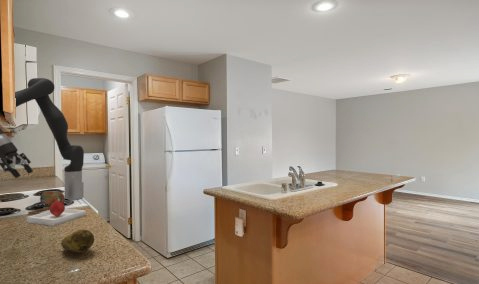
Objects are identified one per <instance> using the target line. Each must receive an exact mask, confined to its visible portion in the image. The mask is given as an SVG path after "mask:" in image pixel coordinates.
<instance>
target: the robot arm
mask: <svg viewBox="0 0 479 284" xmlns="http://www.w3.org/2000/svg"><path fill="white" fill-rule="evenodd" d="M54 91H55V84H54V83H53V81H52V80H50V79H48V78H44V77H35V78H34V77H33V78H30V79H29V80H28V82H27V87H26V88H24V89H20V90H17V91H14V92H15V98H16V107H15V108H17V107H19V106H21V105H23V104H25V103H28V102H31V101H33V100H35V102H36V104H37V105H38V107H39V109H40V111H41V113H42V116H43V118H44V119H45V121H46V124H47V126H48V129H50V131H51V133H52V135H53V138H54V140H55V142H56V144H57V147H58V150H59V152H60V155H61V157H62V158H63V159H64V160H66V161H70V163H69V164H68V165H66V166H65V167H64V170H63V172H64V174H63V175H64V200H65V199H69V200H68V201H75V200H77V201H78V200H80V199H83V198H84V193H85V192H84V182H83V167H84V162H85V161H84V159H85V158H84V157H85V156H84V155H85V154H84V149H83V147H82V146H81V145H75V144H74V145H73V144H71V143H70V140H69V139H68V130H69V124H68V121H67V119H66V117H65V115H64V113H63V112H62V111H61V110H60V109H59V108H58V106H56V105H55V103H53V101H52V100H51V98H50V96H49V95H51V94H52V93H54ZM12 141H13V140H11V139H10V138H9V136H8V135H6V133H5V132H4V131H3V129H2V128H1V127H0V167H1V168H2V170H3V171H4V172H5V173H6V172H8V173H9V172H10V173H11V175H12V176H13V177H14V179H18V178H19V177H21V173H20V172H19V171H18V169H16V165H18V166H20V167H21V166H22V167H23V169H24V170H25V172H26V173H27V174H31V173H33V172H34V170H33V169H32V167H31V166H30V164H31V163H32V161H31V160H30V159H29V158H28V157H27V155H26V154H25V153H24V152H22V153H20V154H19V153H18V151H19V149H18V148H17V147H16V145H15V143H13V142H12Z"/></svg>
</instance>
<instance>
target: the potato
mask: <svg viewBox="0 0 479 284" xmlns="http://www.w3.org/2000/svg"><path fill="white" fill-rule="evenodd" d="M94 243H95V236H94V234H93V232H92V231H90V230H88V229H78V230H74V231H73V232H72V233H71V234H70V233H69V235H67V236H65V237H63V238H62V240H61V244H60V245H61V247H62V249H64V250H66V251H69V252H72V253H77V254H78V253H83V252H86V251H88V250H89V249H90V248H91V247H92V246H93V245H94Z"/></svg>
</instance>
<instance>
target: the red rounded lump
mask: <svg viewBox="0 0 479 284" xmlns="http://www.w3.org/2000/svg"><path fill="white" fill-rule="evenodd" d="M65 209H66V206H65V204H64V203H62V202H60V201H59V200H56V201H55V202H54V203H53V204H52V205H51V206H50V210H49V211H50V212H51V214H53V215H54V216H56V217H58V216H60V215H61V214H62V213H63V212H64V210H65Z"/></svg>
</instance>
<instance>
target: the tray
mask: <svg viewBox="0 0 479 284" xmlns="http://www.w3.org/2000/svg"><path fill="white" fill-rule="evenodd" d="M39 213H40V214H36V215H27V216H26V223H27V224H33V225H34V224H35V225H41V226H49V227H56V226H58V225H62V224H65V223H67V222H71V221H74V220H76V219H77V220H78V219H80V218H83V217H86V216H87V211H86V210H82V209H74V208H65V210H64V212H63V213H62V214H61V215H60V216H58V217H56V216H54V215H53V214H51V212H50V210H47V211H43V212H39Z"/></svg>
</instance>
